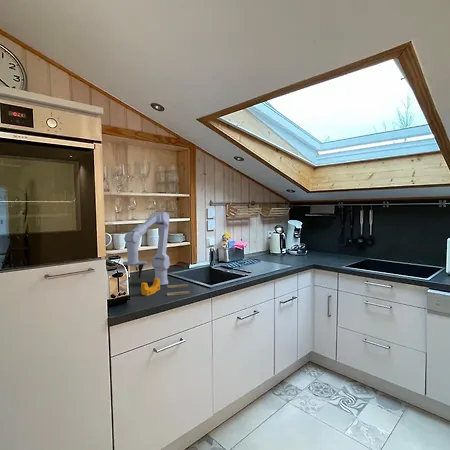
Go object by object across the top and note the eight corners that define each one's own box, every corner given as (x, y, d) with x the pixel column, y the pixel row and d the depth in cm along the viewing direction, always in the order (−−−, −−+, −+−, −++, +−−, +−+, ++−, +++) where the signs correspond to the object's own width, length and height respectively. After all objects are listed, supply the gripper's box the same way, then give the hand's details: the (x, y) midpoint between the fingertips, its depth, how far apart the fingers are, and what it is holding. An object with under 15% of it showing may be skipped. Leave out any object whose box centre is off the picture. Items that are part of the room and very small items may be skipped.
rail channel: (167, 287, 178) (167, 285, 177) (188, 286, 179) (188, 284, 179) (167, 295, 162) (166, 293, 162) (189, 294, 164) (189, 292, 164)
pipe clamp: (147, 296, 162) (147, 284, 162) (141, 294, 164) (141, 283, 164) (162, 290, 173) (162, 279, 172) (156, 289, 175) (156, 278, 174)
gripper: (117, 255, 160) (118, 281, 161) (145, 254, 162) (146, 279, 163) (119, 253, 167) (120, 277, 168) (146, 252, 169) (147, 276, 170)
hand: (133, 278), depth 166 cm, fingers open, 6 cm apart
